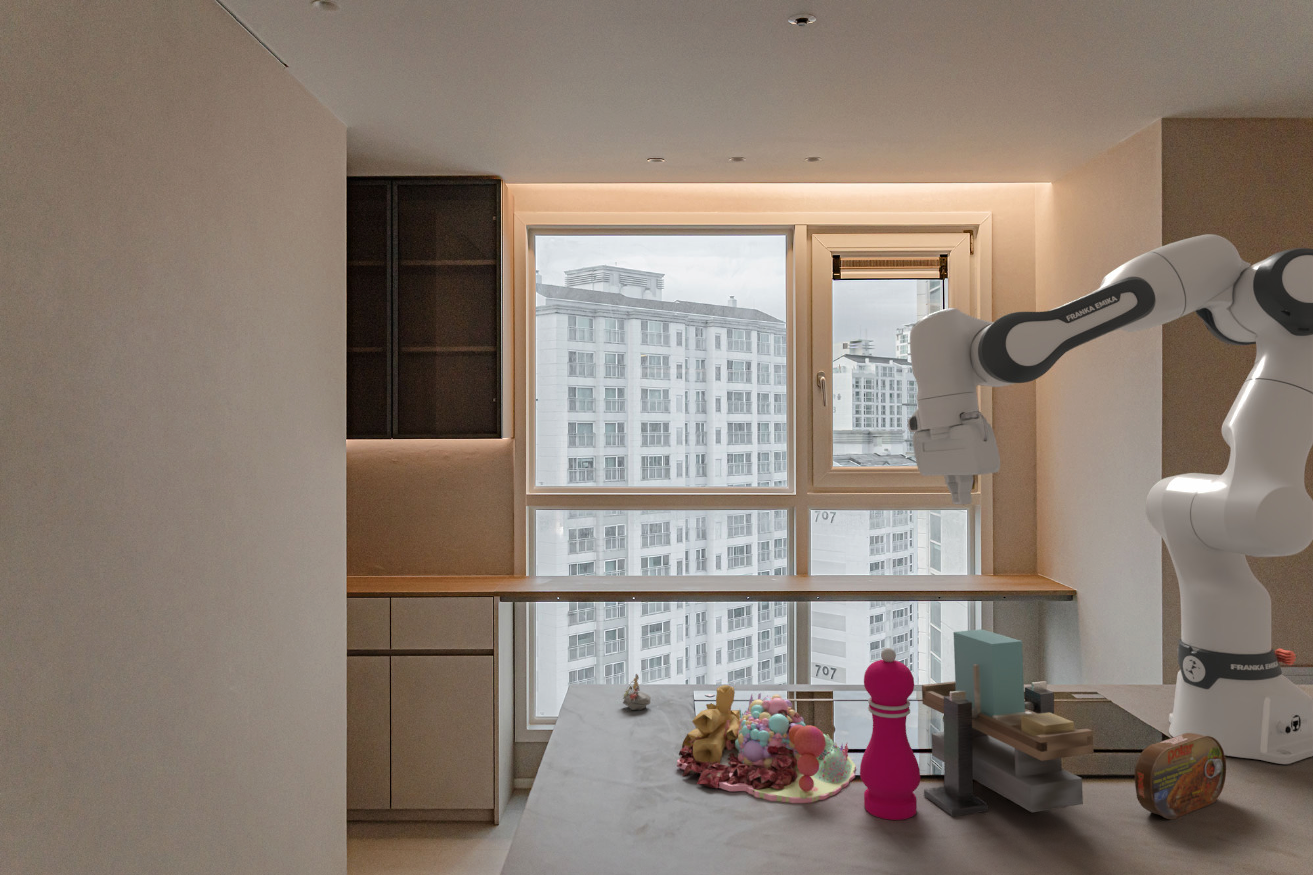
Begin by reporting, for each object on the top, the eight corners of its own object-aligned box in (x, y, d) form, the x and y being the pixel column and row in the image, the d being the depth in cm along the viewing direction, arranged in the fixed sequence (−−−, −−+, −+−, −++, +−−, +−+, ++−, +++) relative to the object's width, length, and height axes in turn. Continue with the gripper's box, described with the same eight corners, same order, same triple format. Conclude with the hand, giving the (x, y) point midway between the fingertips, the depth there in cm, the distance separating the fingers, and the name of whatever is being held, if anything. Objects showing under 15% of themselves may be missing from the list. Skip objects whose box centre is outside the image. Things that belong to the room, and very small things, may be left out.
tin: (1154, 826, 102) (1154, 755, 101) (1129, 816, 104) (1128, 746, 104) (1229, 798, 108) (1229, 732, 108) (1203, 789, 111) (1203, 724, 111)
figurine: (654, 706, 147) (653, 672, 147) (645, 714, 143) (644, 680, 143) (627, 703, 149) (626, 670, 149) (617, 711, 145) (616, 677, 145)
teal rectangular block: (985, 704, 116) (982, 629, 116) (1025, 721, 108) (1022, 641, 108) (956, 707, 115) (953, 631, 115) (994, 725, 107) (991, 644, 107)
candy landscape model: (653, 786, 116) (652, 718, 115) (706, 726, 138) (705, 669, 137) (843, 813, 107) (842, 739, 107) (867, 745, 129) (866, 683, 129)
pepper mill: (923, 824, 103) (921, 657, 102) (861, 820, 104) (859, 654, 104) (917, 798, 110) (916, 641, 109) (859, 794, 111) (857, 639, 111)
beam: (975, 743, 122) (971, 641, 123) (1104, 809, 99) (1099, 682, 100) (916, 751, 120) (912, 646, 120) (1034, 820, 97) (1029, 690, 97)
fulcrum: (1043, 777, 115) (1042, 673, 115) (1076, 796, 110) (1075, 686, 109) (924, 795, 111) (922, 686, 110) (951, 816, 105) (950, 701, 105)
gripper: (1003, 406, 124) (1018, 502, 124) (938, 417, 144) (950, 500, 144) (962, 412, 123) (977, 508, 123) (902, 422, 143) (915, 505, 143)
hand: (962, 504), depth 133 cm, fingers closed
